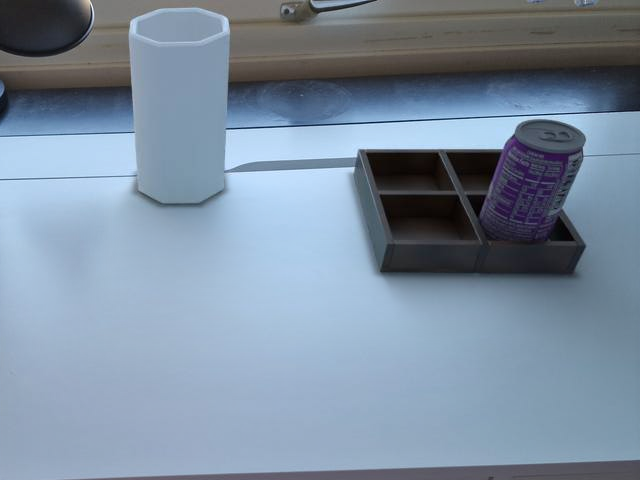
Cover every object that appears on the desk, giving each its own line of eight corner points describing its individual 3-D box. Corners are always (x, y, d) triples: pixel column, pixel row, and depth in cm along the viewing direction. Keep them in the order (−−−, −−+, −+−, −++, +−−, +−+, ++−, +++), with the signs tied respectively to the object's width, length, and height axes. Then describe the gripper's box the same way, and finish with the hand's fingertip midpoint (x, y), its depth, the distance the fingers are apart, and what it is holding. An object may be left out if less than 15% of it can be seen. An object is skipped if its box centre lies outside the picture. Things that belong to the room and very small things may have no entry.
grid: (514, 175, 84) (524, 148, 82) (572, 273, 70) (586, 245, 68) (353, 175, 85) (358, 148, 83) (380, 271, 72) (387, 244, 69)
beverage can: (536, 222, 76) (581, 118, 67) (551, 261, 71) (600, 154, 62) (469, 217, 77) (504, 114, 68) (478, 255, 72) (518, 150, 63)
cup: (238, 168, 87) (247, 12, 74) (206, 214, 80) (210, 51, 67) (157, 152, 90) (152, 1, 77) (120, 195, 83) (107, 37, 70)
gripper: (551, -188, 59) (540, -10, 63) (657, -150, 70) (642, 0, 74) (482, -158, 64) (476, 6, 68) (591, -126, 75) (580, 13, 79)
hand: (563, 3), depth 71 cm, fingers open, 8 cm apart
